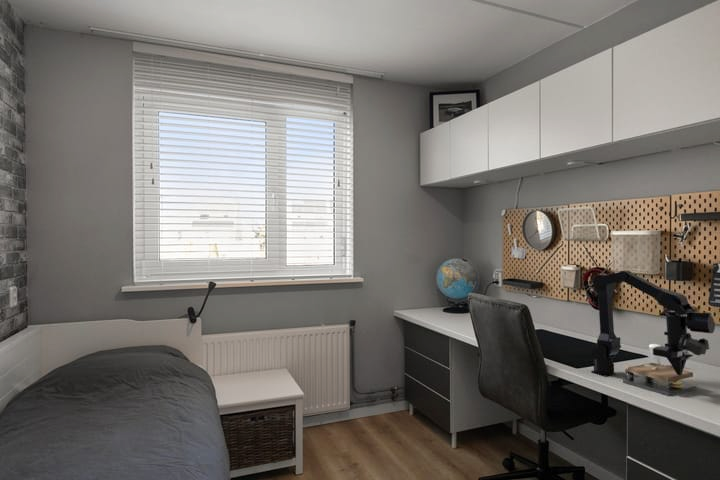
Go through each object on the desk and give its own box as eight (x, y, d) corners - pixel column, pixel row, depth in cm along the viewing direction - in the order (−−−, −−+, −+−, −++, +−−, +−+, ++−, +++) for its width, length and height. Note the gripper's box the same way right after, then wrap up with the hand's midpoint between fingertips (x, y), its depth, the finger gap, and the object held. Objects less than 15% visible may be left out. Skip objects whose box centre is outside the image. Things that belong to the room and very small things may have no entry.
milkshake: (665, 367, 180) (665, 343, 180) (650, 366, 182) (650, 342, 182) (662, 364, 184) (662, 341, 185) (648, 363, 186) (647, 340, 187)
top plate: (625, 372, 162) (624, 363, 162) (649, 367, 167) (649, 359, 167) (667, 384, 148) (667, 375, 148) (693, 378, 153) (692, 369, 153)
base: (622, 382, 162) (622, 370, 162) (650, 376, 168) (649, 365, 168) (668, 396, 147) (668, 383, 147) (697, 389, 153) (697, 376, 153)
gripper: (685, 335, 140) (688, 384, 140) (718, 330, 148) (721, 376, 147) (650, 330, 151) (653, 376, 150) (683, 326, 158) (686, 369, 157)
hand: (679, 374), depth 151 cm, fingers closed, pressing on top plate
